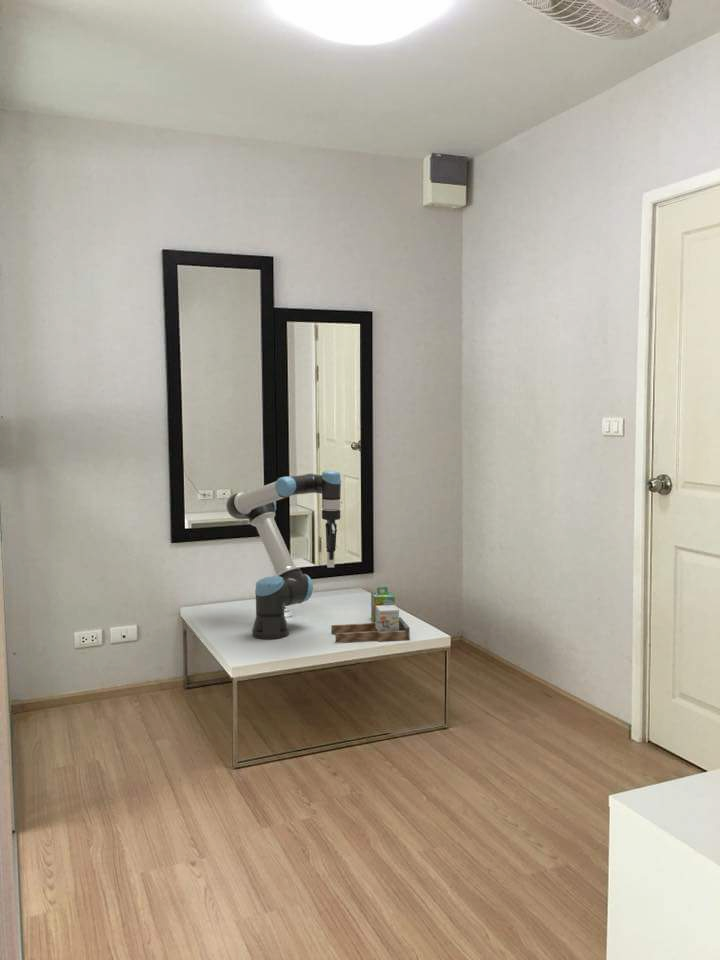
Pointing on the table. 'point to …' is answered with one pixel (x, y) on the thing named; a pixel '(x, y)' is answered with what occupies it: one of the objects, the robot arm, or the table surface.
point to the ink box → (387, 618)
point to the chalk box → (380, 600)
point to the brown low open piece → (369, 632)
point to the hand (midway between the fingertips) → (330, 567)
